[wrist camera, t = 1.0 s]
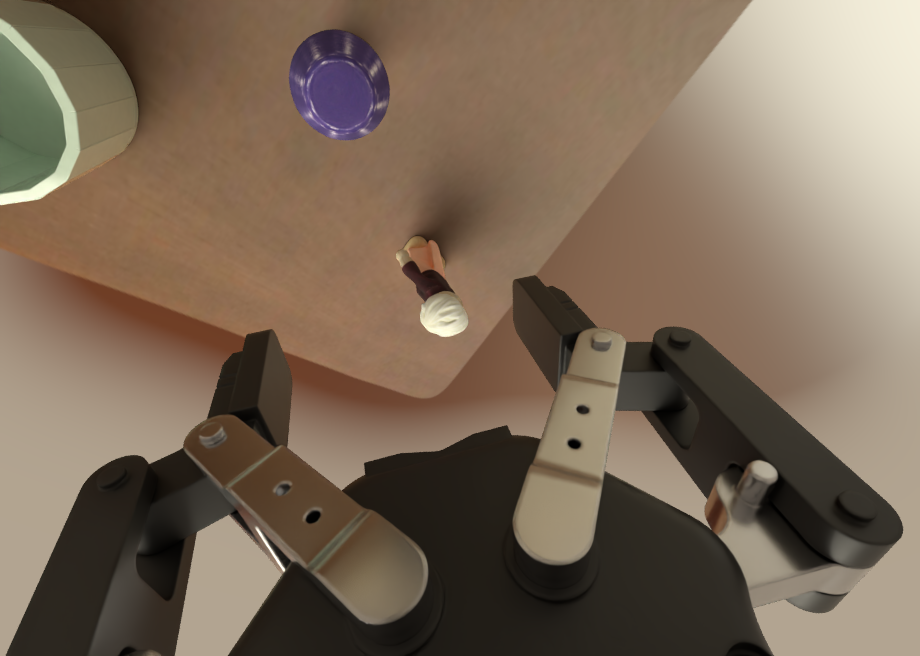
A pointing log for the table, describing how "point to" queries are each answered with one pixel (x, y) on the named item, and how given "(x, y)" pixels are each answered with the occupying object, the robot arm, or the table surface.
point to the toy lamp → (339, 84)
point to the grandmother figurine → (432, 287)
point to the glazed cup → (57, 101)
